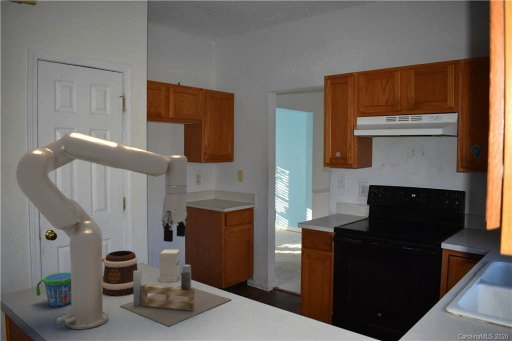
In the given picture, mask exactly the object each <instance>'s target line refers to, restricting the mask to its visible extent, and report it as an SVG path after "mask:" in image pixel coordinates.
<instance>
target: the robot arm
mask: <svg viewBox="0 0 512 341" xmlns="http://www.w3.org/2000/svg"><path fill="white" fill-rule="evenodd" d="M75 160H80V161H82V162H83V161H84V162H87V163H93V164H97V165H101V166H105V167H109V168H113V169H120V170H126V171H129V172H135V173H139V174H143V175H147V176H151V177H160V176H165V177H164V179H165V180H164V197H163V202H162V203H163V204H162V213H161V214H162V215H161V222H162V229H163V242H168V243H172V242H173V240H174V230H173V227H174V225H175V224H176V237H183V238H184V237H186V225H187V216H188V211H187V197H186V195H187V194H188V193H187V192H188V189H187V188H188V186H187V185H188V158H187V156H185V155H178V154H171V155H161V154H159V153H155V152H151V151H148V150H143V149H139V148H136V147H132V146H128V145H125V144H123V143H121V142H117V141H113V140H109V139H105V138H102V137H98V136H95V135H94V136H93V135H91V134H86V133H83V132H78V131H68V132H65V134H64V135H63V136H62V137H61V138H59V139H57V140H54V141H52V142H51V143H48V144H46V145H43V146H42V147H36V148H31V149H29V150H27V151H26V152H25V153H23V155H22V156H21V158H20V159H19V162H18V164H17V166H16V171H15V172H16V174H15V175H16V176H15V179H16V181H17V184H18V187H19V188H20V191H21V192H22V193H23V195H24V196H25V197H26V198H27V199H28V200H29V201H30V202H31V203H32V205H34V207H35V208H36V209H37V210H38V212H40V214H41V215H42V216H43V218H45V219H46V220H47V222H48V223H49V224H50V225H51V226H52V227H53V228H54V229H56V230H59V231H60V230H61V231H63V232H64V234H66V235H67V237H68V238H70V240H69V256H70V259H69V260H70V273H71V302H70V303H71V304H70V305H71V309H69V310H67V313H66V314H65V315H62V316H58V317H56V318H55V323H56V324H57V325H59V324H62V323H64V325H66V327H68V328H69V329H74V330H87V329H92V328H96V327H98V326H100V325H103V324H105V323H106V322H107V321H108V319H109V315H108V313H107V312H105V311H104V310H103V309H104V307H103V306H104V303H103V301H104V300H103V299H104V295H103V294H104V292H103V285H102V275H103V262H102V256H103V234H102V233H103V232H102V229H101V228H100V226H99V225H98V223H97V222H96V221H95V220H94V219H93V218H92V217H91V216H90V215H89V213H88V212H87V211H86V210H85V209H84V208H83V207H82V206H81V205H80V204H79V202H78V201H76V200H74V199H72V198H69V197H67V196H66V195H65V194H64V193H63V192H62V191H61V190H60V189H59V188H58V186H57V185H56V184H55V183H54V182H53V181H52V180H51V178H50V176H49V174H50V173H51V172H53V171H55V170H57V169H59V168H62V167H64V166H66V165H67V164H70V163H72V162H73V161H75Z"/></svg>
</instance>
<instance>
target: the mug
mask: <svg viewBox="0 0 512 341" xmlns="http://www.w3.org/2000/svg"><path fill="white" fill-rule="evenodd" d="M102 263H103V265H104V268H103V274H102V285H103V294H105V295H108V296H126V295H130V294H134V284H133V271H135V270H139V268H138V257H137V256H136V253H135V252H134V251H131V250H116V251H115V250H114V251H110V252H109V253H108V254H106V255H105V256H103V255H102Z"/></svg>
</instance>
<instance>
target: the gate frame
mask: <svg viewBox="0 0 512 341" xmlns="http://www.w3.org/2000/svg"><path fill="white" fill-rule="evenodd" d="M182 272H190V289H191V287H192V265H191V264H184V265H182ZM133 284H134V292H133V301H134V307H141V306H142V305H141V286H142V285H143V284H142V270H140V269H138V270H135V271H133Z"/></svg>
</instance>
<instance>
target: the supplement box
mask: <svg viewBox="0 0 512 341" xmlns="http://www.w3.org/2000/svg"><path fill="white" fill-rule="evenodd" d="M180 251H181V250H180V249H163V250H162V251H161V252H160V253H159V282H160V283H161V282H162V283H176V282H177V281H178V280H179V278H181V277H180V276H181V275H180V274H181V273H180V271H181V270H180V267H181V266H180V265H181V264H180Z"/></svg>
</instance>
